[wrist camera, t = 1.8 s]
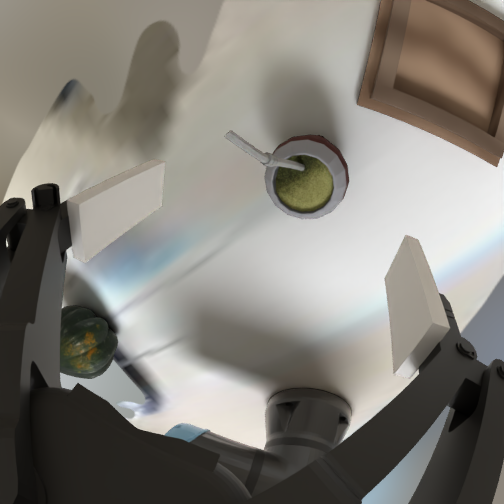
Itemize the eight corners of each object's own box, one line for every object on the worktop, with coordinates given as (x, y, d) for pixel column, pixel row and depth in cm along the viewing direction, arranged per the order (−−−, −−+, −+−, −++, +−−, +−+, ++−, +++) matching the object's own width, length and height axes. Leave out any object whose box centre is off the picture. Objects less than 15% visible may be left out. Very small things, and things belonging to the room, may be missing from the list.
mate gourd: (336, 206, 31) (327, 287, 18) (264, 184, 32) (205, 247, 19) (357, 138, 27) (370, 170, 14) (279, 116, 28) (224, 129, 15)
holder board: (493, 165, 23) (505, 171, 20) (356, 104, 25) (358, 104, 23) (521, 38, 15) (534, 34, 12) (386, -30, 17) (389, -41, 14)
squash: (131, 382, 50) (63, 385, 38) (89, 372, 57) (31, 372, 44) (129, 308, 54) (63, 298, 42) (89, 310, 61) (32, 301, 48)
